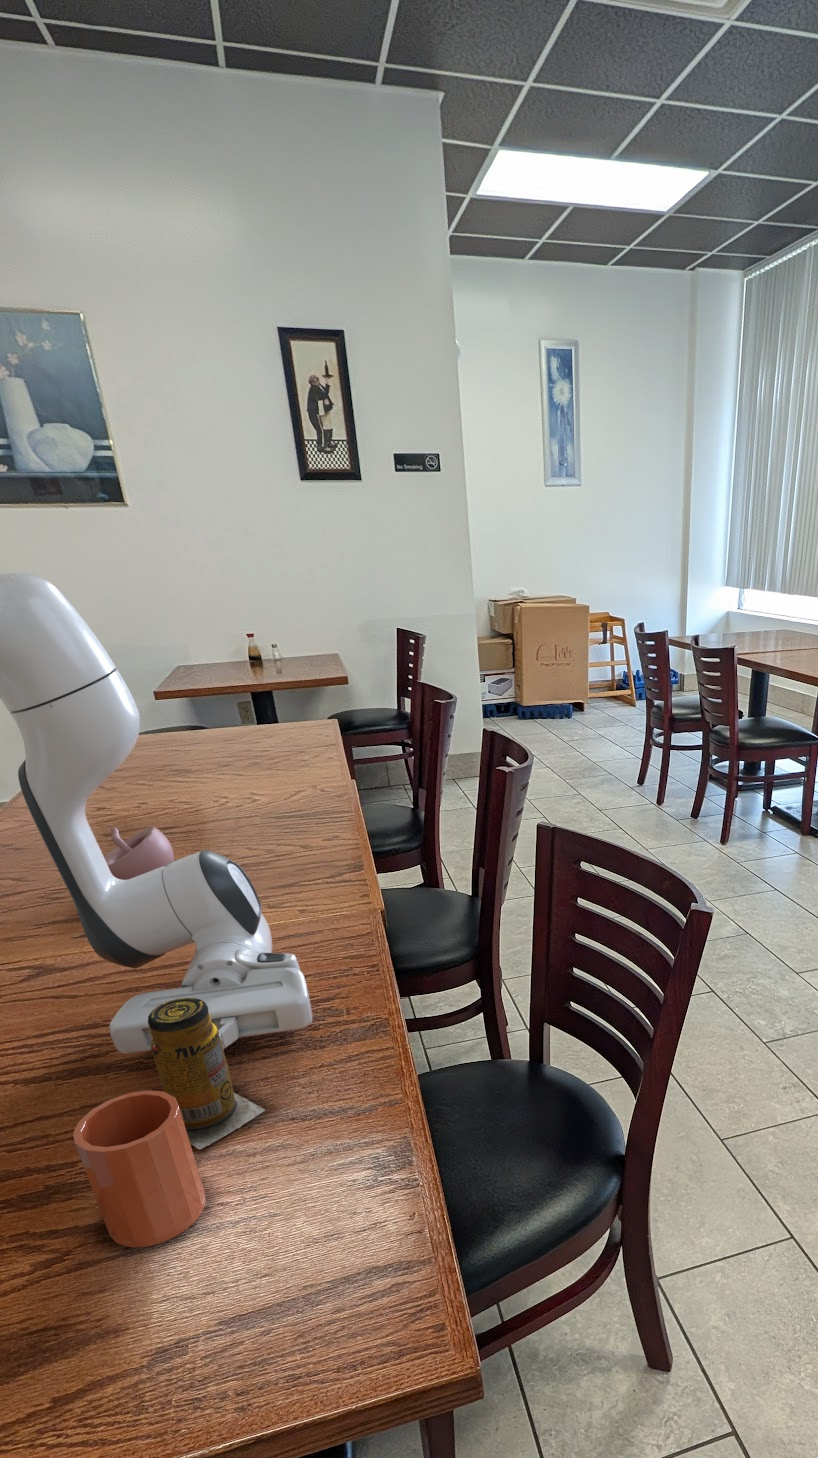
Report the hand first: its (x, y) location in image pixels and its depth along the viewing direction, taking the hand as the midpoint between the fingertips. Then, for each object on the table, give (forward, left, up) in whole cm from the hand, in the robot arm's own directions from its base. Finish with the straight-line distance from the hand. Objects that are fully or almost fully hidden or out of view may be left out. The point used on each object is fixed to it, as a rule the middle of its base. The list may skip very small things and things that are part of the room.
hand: (204, 1052), depth 83 cm
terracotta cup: (-2, -17, -5) cm, 18 cm away
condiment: (0, -4, -5) cm, 7 cm away
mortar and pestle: (-21, +62, -5) cm, 66 cm away
